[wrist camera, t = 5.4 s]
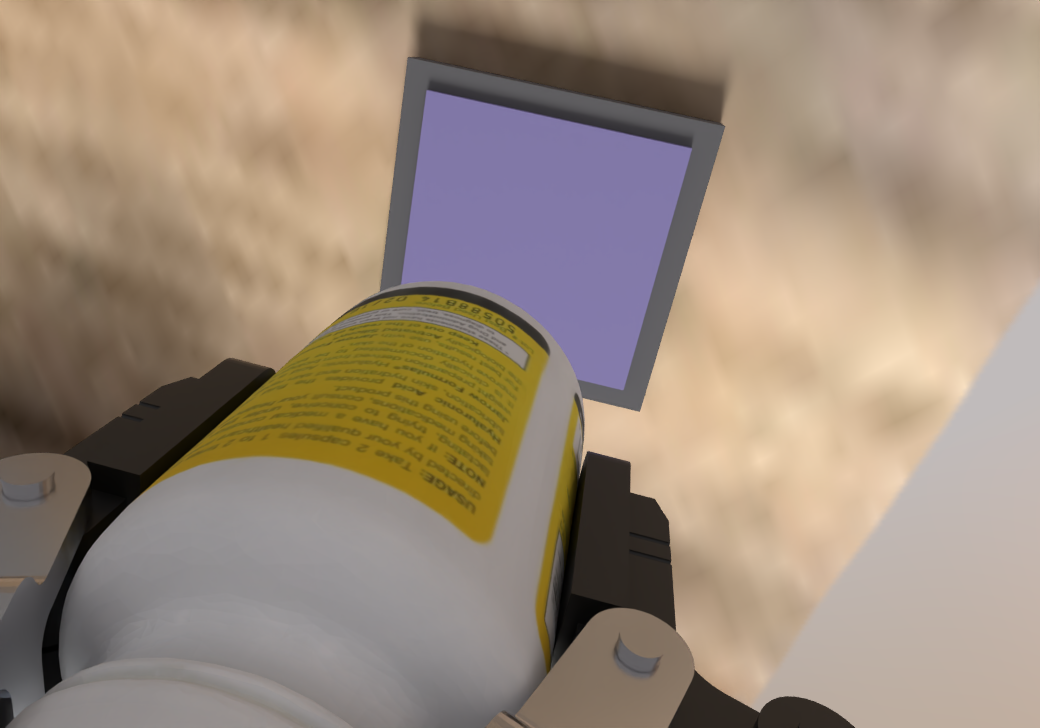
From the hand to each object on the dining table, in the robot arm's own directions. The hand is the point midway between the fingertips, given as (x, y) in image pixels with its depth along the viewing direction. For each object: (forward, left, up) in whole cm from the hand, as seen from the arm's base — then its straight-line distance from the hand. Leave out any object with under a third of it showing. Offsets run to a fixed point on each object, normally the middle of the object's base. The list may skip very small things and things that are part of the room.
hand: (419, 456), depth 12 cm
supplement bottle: (0, 0, -2) cm, 2 cm away
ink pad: (0, 0, -14) cm, 14 cm away
